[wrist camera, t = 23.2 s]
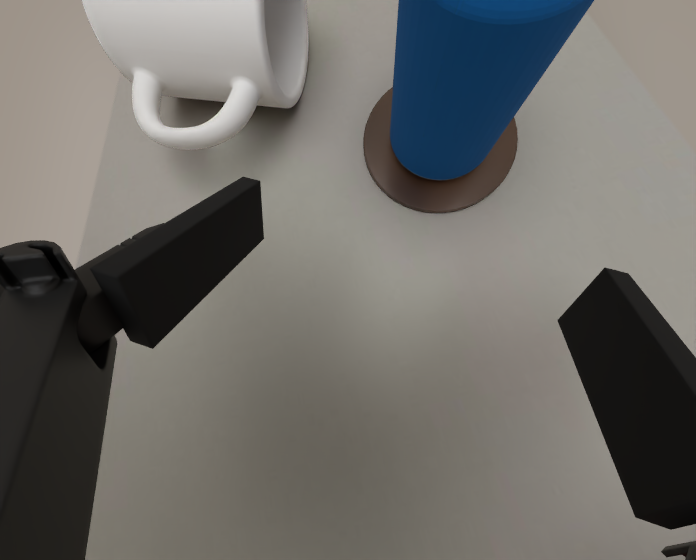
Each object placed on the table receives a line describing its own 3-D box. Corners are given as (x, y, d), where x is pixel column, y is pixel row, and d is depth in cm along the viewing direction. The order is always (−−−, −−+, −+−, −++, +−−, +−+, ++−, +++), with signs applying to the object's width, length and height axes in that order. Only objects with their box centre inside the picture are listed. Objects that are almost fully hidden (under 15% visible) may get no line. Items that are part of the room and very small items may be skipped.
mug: (193, 26, 23) (96, -126, 15) (316, 34, 22) (280, -126, 14) (156, 170, 22) (29, 87, 14) (283, 187, 20) (224, 108, 13)
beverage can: (458, 78, 20) (581, -282, 8) (508, 156, 19) (736, -118, 7) (372, 123, 20) (365, -160, 8) (417, 202, 19) (485, 15, 7)
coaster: (350, 200, 20) (350, 197, 19) (379, 67, 21) (379, 63, 20) (502, 225, 19) (504, 223, 18) (525, 83, 20) (528, 78, 19)
